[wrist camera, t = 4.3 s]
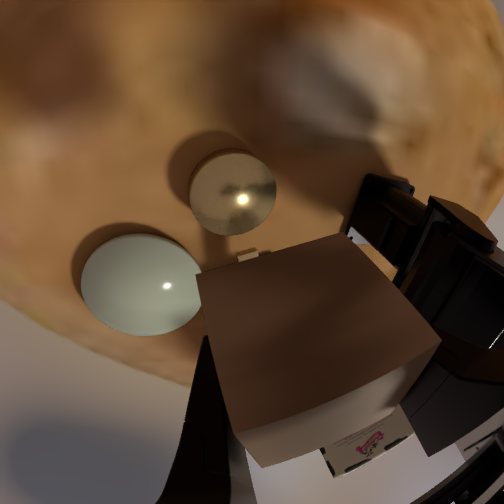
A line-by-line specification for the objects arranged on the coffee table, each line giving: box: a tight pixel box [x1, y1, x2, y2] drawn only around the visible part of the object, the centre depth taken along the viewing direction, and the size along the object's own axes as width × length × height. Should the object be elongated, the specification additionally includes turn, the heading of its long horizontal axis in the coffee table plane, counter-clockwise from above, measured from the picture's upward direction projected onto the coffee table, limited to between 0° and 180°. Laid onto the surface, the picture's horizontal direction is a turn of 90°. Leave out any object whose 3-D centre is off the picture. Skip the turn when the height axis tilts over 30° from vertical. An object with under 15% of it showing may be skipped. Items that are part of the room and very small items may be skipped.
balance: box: [188, 149, 276, 262], centre depth 22 cm, size 24×6×5 cm, turn 9°
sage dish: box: [81, 233, 202, 336], centre depth 21 cm, size 10×10×1 cm
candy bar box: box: [320, 404, 415, 478], centre depth 30 cm, size 11×5×16 cm, turn 121°
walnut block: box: [195, 232, 442, 468], centre depth 8 cm, size 5×5×5 cm
